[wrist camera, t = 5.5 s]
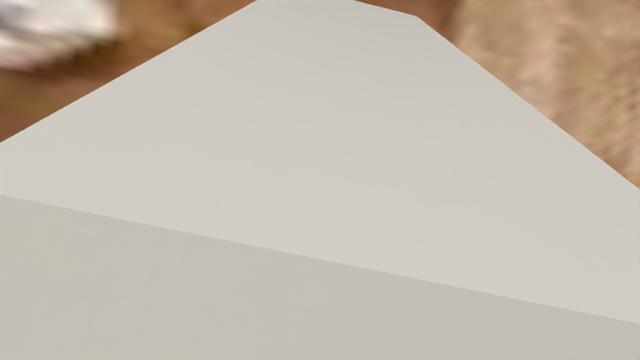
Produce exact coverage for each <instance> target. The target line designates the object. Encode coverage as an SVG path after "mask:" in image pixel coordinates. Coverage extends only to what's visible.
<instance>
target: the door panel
mask: <svg viewBox="0 0 640 360" xmlns="http://www.w3.org/2000/svg"><path fill="white" fill-rule="evenodd" d="M0 360H640V190H639V189H638V188H637V187H635V186H634V185H633V184H632V183H630V182H629V181H628V180H626V179H625V178H624V177H623V176H621V175H620V174H619V173H617V172H616V171H615V170H614V169H612V168H611V167H610V166H608V165H607V164H606V163H605V162H603V161H602V160H601V159H599V158H598V157H597V156H596V155H594V154H593V153H592V152H590V151H589V150H588V149H587V148H585V147H584V146H583V145H581V144H580V143H579V142H578V141H576V140H575V139H574V138H572V137H571V136H570V135H569V134H567V133H566V132H565V131H563V130H562V129H561V128H560V127H558V126H557V125H556V124H554V123H553V122H552V121H551V120H549V119H548V118H547V117H545V116H544V115H543V114H542V113H540V112H539V111H538V110H536V109H535V108H534V107H533V106H531V105H530V104H529V103H527V102H526V101H525V100H524V99H522V98H521V97H520V96H518V95H517V94H516V93H515V92H513V91H512V90H511V89H509V88H508V87H507V86H506V85H504V84H503V83H502V82H500V81H499V80H498V79H497V78H495V77H494V76H493V75H491V74H490V73H489V72H488V71H486V70H485V69H484V68H482V67H481V66H480V65H479V64H477V63H476V62H475V61H473V60H472V59H471V58H470V57H468V56H467V55H466V54H464V53H463V52H462V51H461V50H459V49H458V48H457V47H455V46H454V45H453V44H452V43H450V42H449V41H448V40H446V39H445V38H444V37H443V36H441V35H440V34H439V33H437V32H436V31H435V30H434V29H432V28H431V27H430V26H428V25H427V24H426V23H425V22H423V21H422V20H421V19H419V18H418V17H417V16H414V15H410V14H406V13H402V12H398V11H394V10H390V9H386V8H382V7H378V6H374V5H370V4H366V3H362V2H358V1H354V0H257V1H255V2H253V3H251V4H250V5H248V6H246V7H244V8H242V9H241V10H239V11H237V12H235V13H233V14H232V15H230V16H228V17H226V18H224V19H223V20H221V21H219V22H217V23H215V24H214V25H212V26H210V27H208V28H206V29H205V30H203V31H201V32H199V33H197V34H196V35H194V36H192V37H190V38H188V39H187V40H185V41H183V42H181V43H179V44H178V45H176V46H174V47H172V48H170V49H169V50H167V51H165V52H163V53H161V54H160V55H158V56H156V57H154V58H152V59H151V60H149V61H147V62H145V63H143V64H142V65H140V66H138V67H136V68H134V69H133V70H131V71H129V72H127V73H125V74H124V75H122V76H120V77H118V78H116V79H115V80H113V81H111V82H109V83H107V84H106V85H104V86H102V87H100V88H98V89H97V90H95V91H93V92H91V93H89V94H88V95H86V96H84V97H82V98H80V99H79V100H77V101H75V102H73V103H71V104H70V105H68V106H66V107H64V108H62V109H61V110H59V111H57V112H55V113H53V114H52V115H50V116H48V117H46V118H44V119H43V120H41V121H39V122H37V123H35V124H34V125H32V126H30V127H28V128H26V129H25V130H23V131H21V132H19V133H17V134H16V135H14V136H12V137H10V138H8V139H7V140H5V141H3V142H1V143H0Z"/></svg>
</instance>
